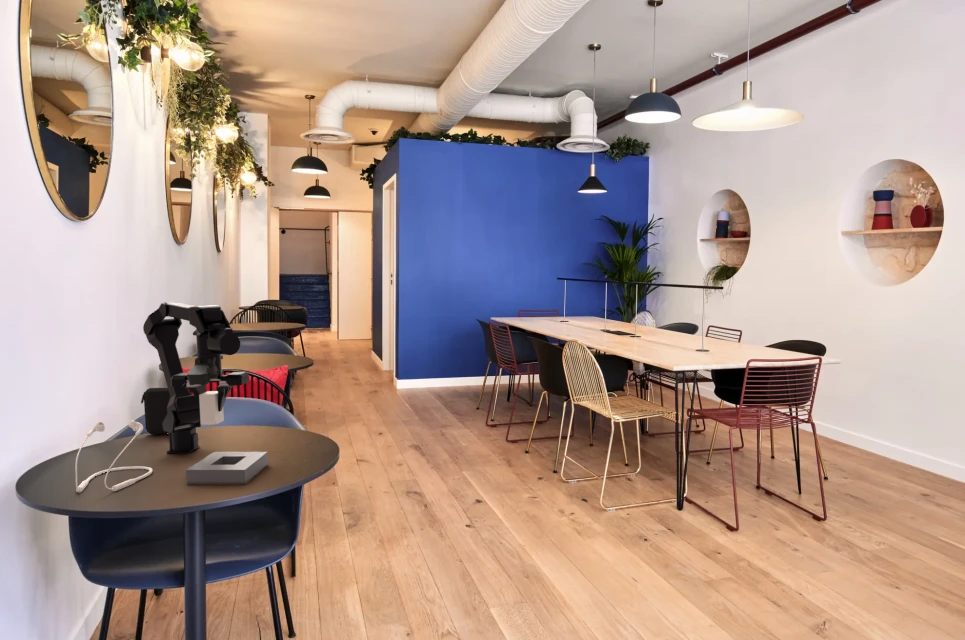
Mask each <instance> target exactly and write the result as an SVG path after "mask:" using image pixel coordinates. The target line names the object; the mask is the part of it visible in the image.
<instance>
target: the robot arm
mask: <svg viewBox="0 0 965 640" xmlns="http://www.w3.org/2000/svg"><path fill="white" fill-rule="evenodd" d="M182 320H184V321H188V322H189V325H191V326H193V327H194V328H195V330H194V331H193V332H192V335H193V336H194V337H195V336H196V352H197V353H196V354H197V357H195V359H194V365H193V366H192V367H191V368H190V369H189V370H188V371H187V372H184V369H183V366H182V364H181V363H182V362H181V358H180V356H179V355H180V354H179V352H178V348H177V341H178V339H179V336H180V334H179V329H180V328H181V326H182V324H183V322H182ZM142 328H143V334H144V335H145V336H146V339H147V342H148V343H149V345H151V346H152V347H153V348H154V349H155V350H156V351H157V354H158V357H159V361H160V365H161V368H162V371H163V374H164V375H163V376H164V379H165V383H166V387H168V390H169V394H170V400H169V403H168V406H167V412H168V414H167V416H166V417H165V419H164V421H163V423H162V425H163V430H164V431H166V432H169V434H168V441H169V442H168V443H169V450H167V451H166V454H190V453H192V452H194V451H196V450H197V449H199V448H200V445H199V433H198V432H197V428H201V426H202V425H201V422H200V402H199V395H200V394H202V393H205V392H207V390H206V389H207V387H206V385H208V384H209V383H213V384H214V383H219V385H218V386H216V391H218V411H219V412H220V411H222V408H223V409H224V405H225V402H226V401H227V400H226V399H228V398H227V397H228V395H229V393H230V391H231V390H232V387H236V386H243V385H245V384H247V383H249V382H250V375H249V373H248V372H247V371H232V372H230V373H228V374H225V373H224V370H222V360H223V359H224V356H232V355H235V354H237V352H239V350H240V348H241V340H240V338H239V336H238V335H237V334H235V333H233V328H232V327H231V323H230V322H229V320H228V319H227V316H226V314H225V312H224V310H223V309H222V307H221V306H220V305H219V304H212V305H210V304H209V305H192V304H187V303H182V302H179V301H167V302H165V301H164V302H163V303H162V302H161V303H160V304H159V307H158V308H157V309H156V310H154V311H153V312H152V313H150V314H149V315H148V316H147V318H146V319H145V322H144V324H143V327H142ZM192 393H193V394H192ZM198 447H199V448H198ZM195 449H196V450H195ZM193 450H194V451H193Z"/></svg>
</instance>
